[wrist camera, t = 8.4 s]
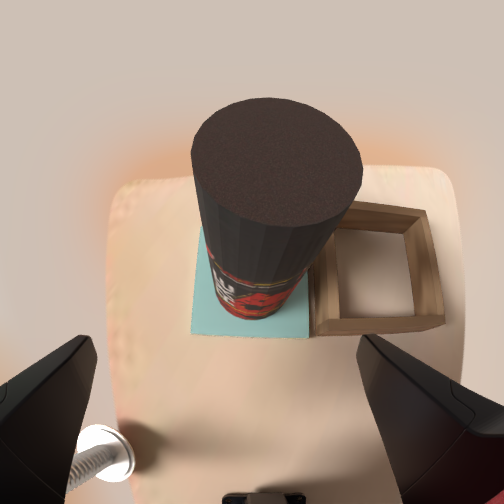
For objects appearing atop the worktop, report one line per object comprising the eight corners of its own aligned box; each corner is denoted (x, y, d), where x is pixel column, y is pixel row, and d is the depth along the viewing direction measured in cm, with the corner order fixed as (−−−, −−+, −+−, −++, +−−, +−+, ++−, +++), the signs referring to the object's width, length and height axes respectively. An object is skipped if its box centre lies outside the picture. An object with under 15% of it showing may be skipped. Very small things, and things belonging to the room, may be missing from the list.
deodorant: (200, 299, 22) (155, 181, 9) (235, 237, 25) (240, 82, 11) (270, 333, 22) (336, 261, 8) (300, 267, 24) (375, 134, 10)
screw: (93, 470, 16) (85, 418, 18) (146, 477, 17) (138, 424, 19) (-1, 518, 4) (-24, 436, 6) (74, 552, 5) (47, 464, 7)
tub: (422, 331, 23) (445, 323, 20) (315, 336, 23) (329, 329, 19) (408, 227, 27) (425, 210, 24) (310, 218, 27) (320, 197, 23)
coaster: (307, 338, 22) (309, 337, 22) (191, 334, 22) (190, 333, 21) (304, 235, 26) (305, 232, 25) (201, 229, 25) (200, 226, 25)
